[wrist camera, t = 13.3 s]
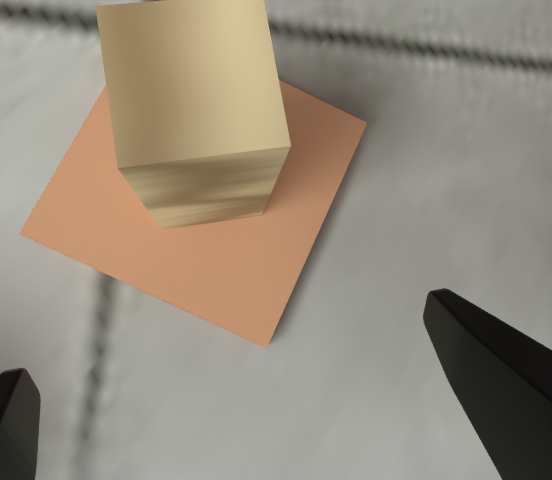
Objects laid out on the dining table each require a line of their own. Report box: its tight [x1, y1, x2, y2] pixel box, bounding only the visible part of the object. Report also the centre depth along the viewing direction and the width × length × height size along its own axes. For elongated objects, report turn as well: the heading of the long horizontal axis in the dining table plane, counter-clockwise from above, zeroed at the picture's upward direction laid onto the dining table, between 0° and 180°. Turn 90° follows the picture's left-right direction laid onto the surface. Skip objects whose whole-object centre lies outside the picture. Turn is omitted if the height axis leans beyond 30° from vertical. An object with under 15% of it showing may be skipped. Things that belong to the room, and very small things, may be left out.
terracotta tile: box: [19, 80, 367, 348], centre depth 24 cm, size 13×13×1 cm
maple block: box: [96, 0, 291, 230], centre depth 19 cm, size 5×5×10 cm
